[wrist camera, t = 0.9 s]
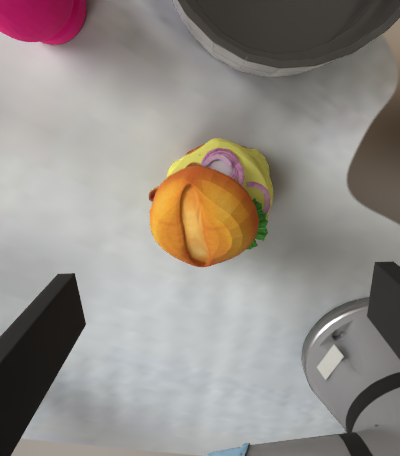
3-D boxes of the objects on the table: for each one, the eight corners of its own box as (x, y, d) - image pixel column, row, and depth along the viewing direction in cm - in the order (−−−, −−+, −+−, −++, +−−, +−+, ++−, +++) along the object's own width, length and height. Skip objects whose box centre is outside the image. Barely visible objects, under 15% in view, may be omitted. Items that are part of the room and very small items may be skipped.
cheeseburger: (296, 194, 31) (303, 251, 23) (213, 244, 36) (193, 306, 28) (233, 109, 28) (215, 137, 20) (153, 176, 33) (110, 220, 25)
